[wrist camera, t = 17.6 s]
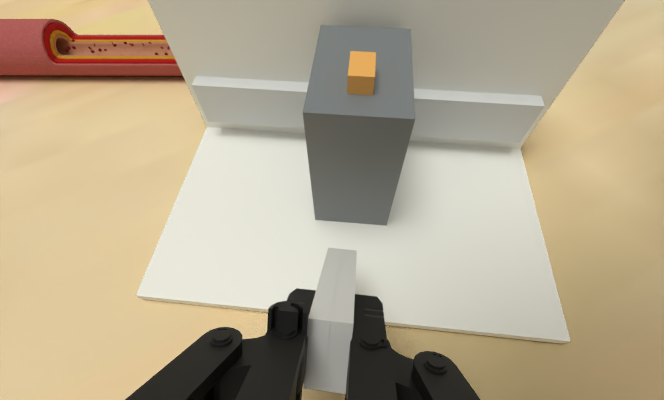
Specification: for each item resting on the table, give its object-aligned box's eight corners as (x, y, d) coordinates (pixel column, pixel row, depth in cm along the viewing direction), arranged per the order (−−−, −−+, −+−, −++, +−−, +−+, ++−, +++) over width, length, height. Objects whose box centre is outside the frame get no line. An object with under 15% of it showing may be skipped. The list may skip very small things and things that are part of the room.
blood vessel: (343, 55, 35) (343, 7, 31) (343, 87, 32) (343, 39, 28) (-40, 55, 36) (-90, 8, 32) (-70, 85, 33) (-129, 39, 29)
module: (387, 149, 27) (414, 10, 17) (386, 225, 23) (420, 101, 14) (325, 145, 27) (319, 6, 18) (315, 219, 23) (300, 94, 14)
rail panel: (512, 141, 28) (641, -55, 16) (562, 343, 19) (912, 244, 8) (214, 121, 30) (133, -69, 18) (142, 299, 21) (-105, 162, 9)
